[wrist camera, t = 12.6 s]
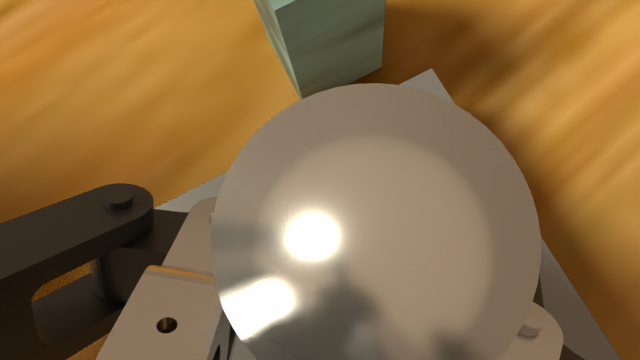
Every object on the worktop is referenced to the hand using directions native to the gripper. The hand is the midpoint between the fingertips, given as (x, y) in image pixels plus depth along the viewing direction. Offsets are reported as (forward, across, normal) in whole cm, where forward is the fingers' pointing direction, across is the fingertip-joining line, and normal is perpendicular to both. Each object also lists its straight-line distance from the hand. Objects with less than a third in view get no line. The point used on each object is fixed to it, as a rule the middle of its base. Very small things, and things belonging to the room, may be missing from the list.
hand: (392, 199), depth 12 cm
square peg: (+16, +7, +2) cm, 17 cm away
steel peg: (+2, 0, +5) cm, 5 cm away
